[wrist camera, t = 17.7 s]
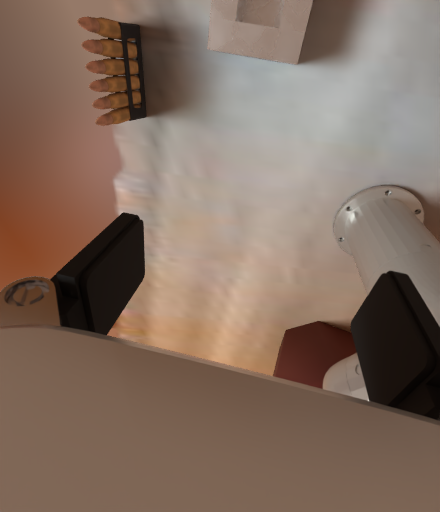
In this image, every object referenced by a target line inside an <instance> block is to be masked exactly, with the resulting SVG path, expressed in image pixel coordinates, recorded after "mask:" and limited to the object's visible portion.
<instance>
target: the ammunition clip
mask: <svg viewBox="0 0 440 512" xmlns="http://www.w3.org/2000/svg"><path fill="white" fill-rule="evenodd" d="M77 23H78V24H79V25H80V26H81V27H82V28H84V29H86V30H88V31H90V32H94V33H97V34H99V35H101V36H103V37H108V39H101V40H87V41H84V42H83V43H82V44H81V46H82V47H83V48H84V49H85V50H87V51H89V52H91V53H96V54H100V55H103V56H106V57H111V59H103V60H98V61H91V62H89V63H88V64H86V66H85V68H86V69H87V70H89V71H91V72H93V73H97V74H98V73H99V74H106V75H113V77H106V78H105V79H101V80H96V81H93V82H92V83H91V84H90V85H89V88H90V89H91V90H94V91H98V92H111V93H113V92H115V93H113V94H109V95H108V96H105V97H102V98H99V99H97V100H95V101H94V102H93V104H92V106H93V107H94V108H97V109H109V108H112V109H114V110H112V111H110V112H109V113H106V114H104V115H102V116H100V117H99V118H97V119H96V121H95V123H96V124H97V125H101V126H105V125H110V124H119V123H122V122H125V121H128V120H130V121H132V120H136V119H141V118H145V117H146V103H145V90H144V78H143V65H142V52H141V40H140V27H139V25H136V24H128V23H121V22H117V21H113V20H109V19H105V18H91V17H82V18H79V19H78V21H77ZM114 39H119V40H122V41H117V40H114ZM116 57H117V58H124V59H116ZM118 75H126V76H118ZM121 91H125V92H121ZM116 108H117V109H116Z"/></svg>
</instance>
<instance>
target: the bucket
mask: <svg viewBox="0 0 440 512" xmlns="http://www.w3.org/2000/svg"><path fill="white" fill-rule="evenodd" d="M355 353H357V352H356V348H355V344H354V340H353V336H352V334H351V333H350V332H347V331H344V330H342V329H339V328H336V327H333V326H331V325H328V324H325V323H322V322H320V321H317V322H313V323H310V324H306V325H302V326H299V327H295V328H291V329H288V330H286V331H285V334H284V337H283V340H282V343H281V346H280V349H279V353H278V357H277V362H276V366H275V370H274V374H273V376H274V377H278V378H282V379H286V380H289V381H293V382H297V383H301V384H305V385H309V386H313V387H317V388H321V389H323V379H324V376H325V374H326V372H327V371H328V370H329V368H330V367H331V366H333V365H334V364H335V363H337V362H339V361H341V360H343V359H345V358H347V357H349V356H351V355H353V354H355Z"/></svg>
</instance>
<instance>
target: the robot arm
mask: <svg viewBox="0 0 440 512" xmlns="http://www.w3.org/2000/svg"><path fill="white" fill-rule="evenodd" d="M387 190H388V191H387ZM386 191H387V192H386ZM348 206H350V207H349V208H347V207H348ZM423 223H424V210H423V207H422V204H421V203H420V201H419V200H418V199H417V198H416V197H415V196H414V195H413V194H412V193H410V192H409V191H407V190H406V189H403V188H400V187H396V186H377V187H372V188H369V189H366V190H363V191H361V192H359V193H357V194H355V195H354V196H353V197H351V198H350V199H348V200H347V201H346V202H345V203H344V204H343V205H342V207H341V208H340V210H339V211H338V213H337V215H336V217H335V221H334V235H335V239H336V241H337V243H338V245H339V246H340V248H341V249H343V250H344V251H345V252H346V253H348V254H350V255H352V256H353V258H354V261H355V263H356V266H357V269H358V271H359V274H360V277H361V280H362V282H363V285H364V288H365V290H366V293H367V297H366V299H365V301H364V302H363V304H362V305H361V307H360V309H359V310H358V312H357V313H356V315H355V317H354V318H353V320H352V322H351V332H352V336H353V340H354V344H355V348H356V352H357V353H355V354H353V355H351V356H349V357H347V358H345V359H343V360H341V361H339V362H337V363H335V364H334V365H333V366H331V367H330V368H329V370H328V371H327V372H326V374H325V376H324V379H323V389H321V388H317V387H313V386H309V385H305V384H301V383H297V382H293V381H289V380H286V379H282V378H278V377H274V376H270V375H266V374H262V373H258V372H254V371H250V370H246V369H242V368H238V367H234V366H230V365H226V364H222V363H218V362H214V361H210V360H206V359H202V358H198V357H194V356H190V355H186V354H182V353H178V352H174V351H170V350H166V349H162V348H158V347H154V346H150V345H146V344H142V343H137V342H133V341H129V340H125V339H120V338H116V337H112V336H107V334H108V332H109V331H110V329H111V328H112V326H113V325H114V323H115V322H116V320H117V319H118V317H119V316H120V314H121V313H122V311H123V310H124V308H125V306H126V305H127V303H128V302H129V300H130V299H131V297H132V296H133V294H134V293H135V291H136V290H137V288H138V287H139V285H140V284H141V282H142V280H143V278H144V275H145V259H144V226H143V221H142V220H140V219H139V216H138V215H134V214H129V213H122V214H121V215H120V216H119V217H117V218H116V219H115V220H114V221H113V222H112V223H111V224H110V225H109V226H108V227H107V228H105V229H104V230H103V231H102V232H101V233H100V234H99V235H98V236H97V237H96V238H95V239H94V240H92V241H91V242H90V243H89V244H88V245H87V246H86V247H85V248H84V249H82V250H81V251H80V252H79V253H78V254H77V255H76V256H75V257H74V258H73V259H72V260H70V262H68V263H67V264H66V265H65V266H64V267H63V268H62V269H61V270H60V271H58V272H57V273H56V275H55V276H54V277H52V278H51V279H48V278H44V277H36V276H34V277H26V278H23V279H19V280H17V281H15V282H12V283H10V284H9V285H7V286H6V287H4V288H3V289H2V291H1V292H0V512H440V242H439V241H438V240H437V239H436V238H435V237H434V236H433V234H432V233H431V232H430V231H429V230H428V229H427V228H426V227H425V225H424V224H423ZM341 237H342V238H341Z"/></svg>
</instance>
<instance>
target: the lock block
mask: <svg viewBox="0 0 440 512" xmlns="http://www.w3.org/2000/svg"><path fill="white" fill-rule="evenodd" d="M312 3H313V0H212V2H211V13H210V24H209V36H208V47H207V49H209V50H213V51H218V52H224V53H230V54H235V55H241V56H247V57H253V58H259V59H265V60H271V61H277V62H283V63H289V64H294V65H296V64H297V63H298V59H299V55H300V51H301V47H302V43H303V39H304V35H305V31H306V27H307V23H308V19H309V15H310V11H311V7H312Z"/></svg>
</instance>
